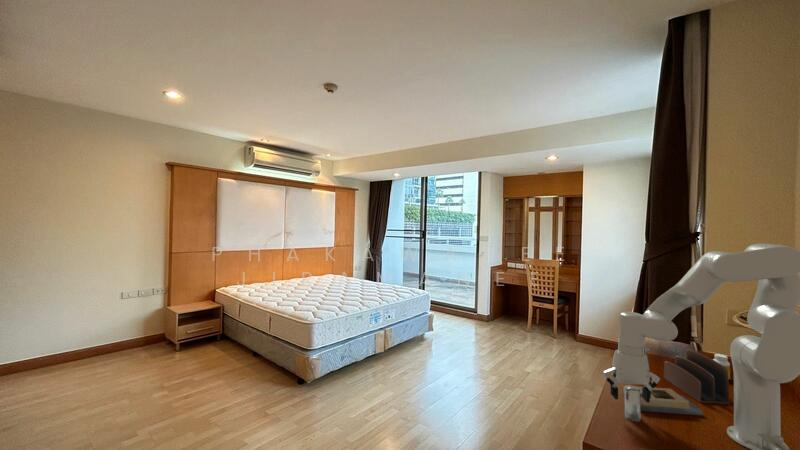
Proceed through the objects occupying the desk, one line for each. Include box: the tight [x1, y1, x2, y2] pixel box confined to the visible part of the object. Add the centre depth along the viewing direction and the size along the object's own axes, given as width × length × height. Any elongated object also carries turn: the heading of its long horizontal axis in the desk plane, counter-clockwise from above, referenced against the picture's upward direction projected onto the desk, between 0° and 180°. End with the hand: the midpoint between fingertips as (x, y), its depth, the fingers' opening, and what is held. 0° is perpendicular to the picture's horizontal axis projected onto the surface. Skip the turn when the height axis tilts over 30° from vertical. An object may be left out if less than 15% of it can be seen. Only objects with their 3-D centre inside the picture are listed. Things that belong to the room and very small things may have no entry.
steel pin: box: [624, 384, 642, 423], centre depth 112 cm, size 4×4×10 cm
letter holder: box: [663, 349, 731, 405], centre depth 129 cm, size 10×20×14 cm, turn 173°
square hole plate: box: [622, 385, 703, 416], centre depth 119 cm, size 20×10×5 cm, turn 80°
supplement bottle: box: [713, 353, 731, 380], centre depth 139 cm, size 5×5×10 cm
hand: (630, 398), depth 112 cm, fingers open, 9 cm apart
